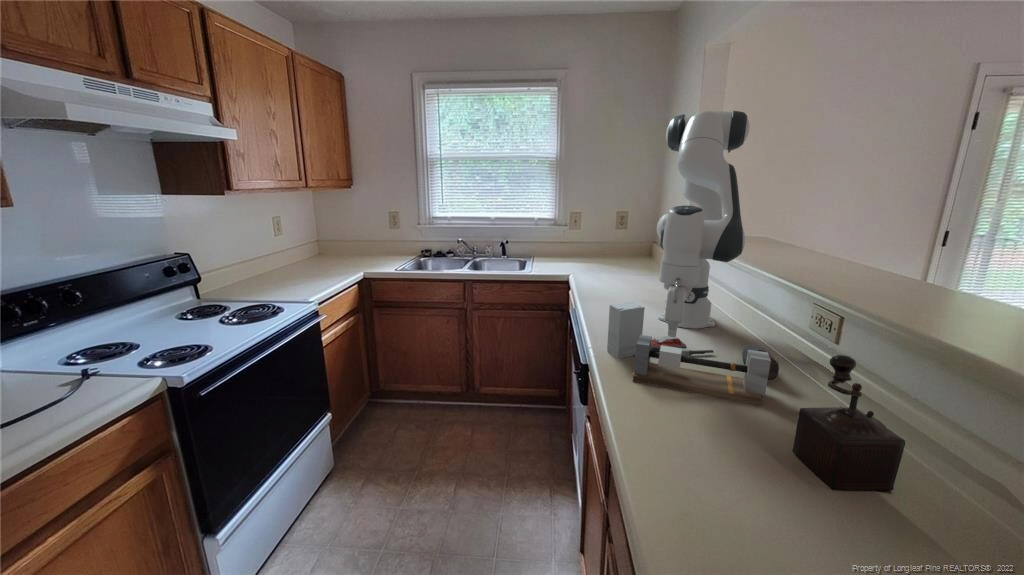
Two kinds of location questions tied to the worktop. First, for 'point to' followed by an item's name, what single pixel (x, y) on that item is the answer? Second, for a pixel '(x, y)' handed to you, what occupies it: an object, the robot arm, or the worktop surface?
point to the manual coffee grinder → (847, 441)
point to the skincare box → (624, 328)
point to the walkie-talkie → (674, 343)
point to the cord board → (705, 374)
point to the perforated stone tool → (773, 365)
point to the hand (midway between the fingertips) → (672, 330)
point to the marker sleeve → (670, 357)
